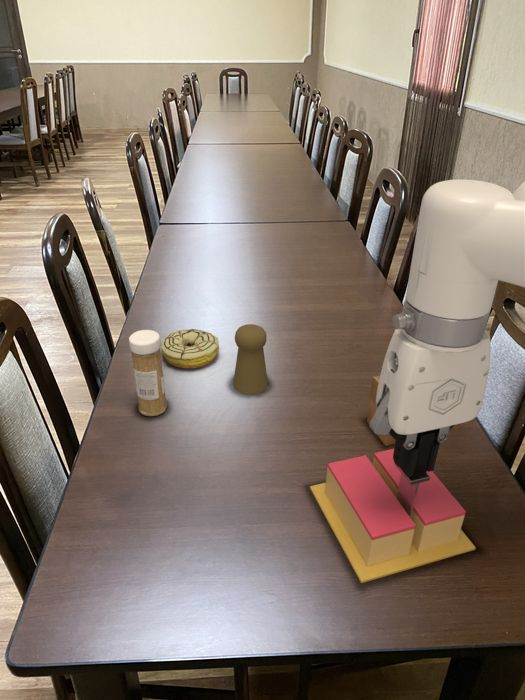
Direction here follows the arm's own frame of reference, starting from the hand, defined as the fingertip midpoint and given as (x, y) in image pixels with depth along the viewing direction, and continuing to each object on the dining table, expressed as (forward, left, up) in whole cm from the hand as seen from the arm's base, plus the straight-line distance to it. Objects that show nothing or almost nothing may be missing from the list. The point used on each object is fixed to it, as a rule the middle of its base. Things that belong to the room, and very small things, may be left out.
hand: (413, 464), depth 60 cm
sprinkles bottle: (+25, -34, -12) cm, 43 cm away
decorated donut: (+16, -48, -12) cm, 52 cm away
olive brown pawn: (+8, -36, -12) cm, 38 cm away
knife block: (-10, -18, -11) cm, 23 cm away
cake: (0, -3, -11) cm, 12 cm away
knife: (0, 0, -10) cm, 10 cm away
